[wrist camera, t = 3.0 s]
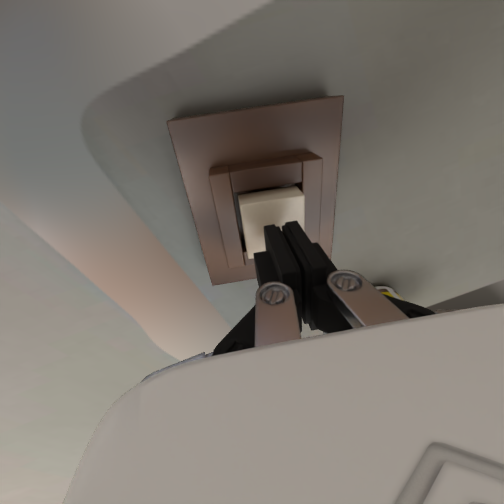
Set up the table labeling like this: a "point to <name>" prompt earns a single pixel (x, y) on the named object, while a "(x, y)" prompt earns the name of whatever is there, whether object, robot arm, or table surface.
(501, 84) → the table surface
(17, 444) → the table surface
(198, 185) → the brown stepped switch base
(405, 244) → the table surface
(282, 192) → the key
